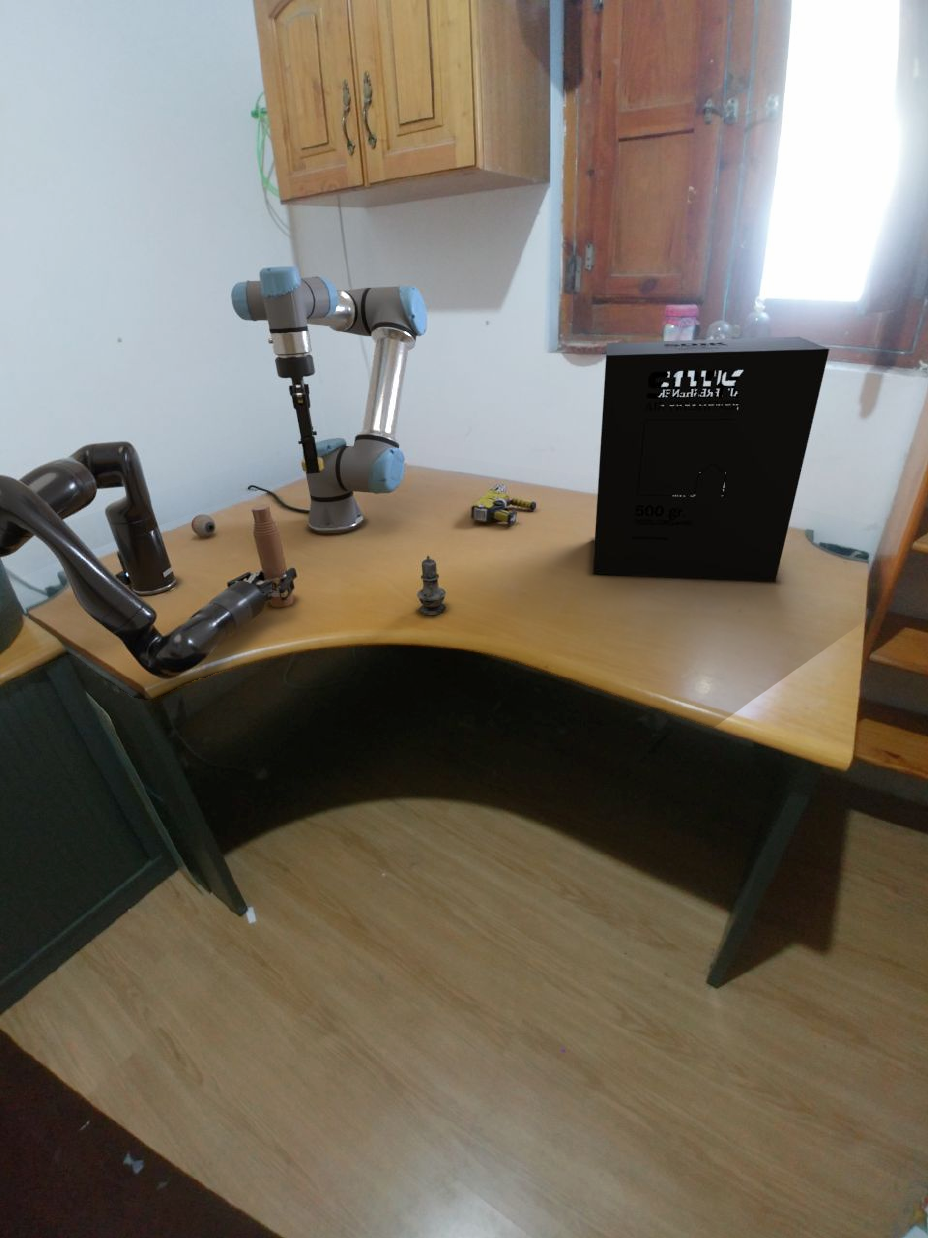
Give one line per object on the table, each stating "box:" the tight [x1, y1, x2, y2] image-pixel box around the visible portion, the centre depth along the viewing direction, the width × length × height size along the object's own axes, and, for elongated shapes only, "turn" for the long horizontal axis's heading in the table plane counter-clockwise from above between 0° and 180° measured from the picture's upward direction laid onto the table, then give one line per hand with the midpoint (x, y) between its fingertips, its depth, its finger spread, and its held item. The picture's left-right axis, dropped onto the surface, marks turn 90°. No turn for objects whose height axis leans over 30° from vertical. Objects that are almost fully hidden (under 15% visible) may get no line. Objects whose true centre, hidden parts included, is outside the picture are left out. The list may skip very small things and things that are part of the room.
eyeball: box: [191, 514, 216, 538], centre depth 166 cm, size 6×6×6 cm
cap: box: [300, 457, 324, 473], centre depth 132 cm, size 5×5×2 cm
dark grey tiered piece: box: [416, 555, 447, 616], centre depth 121 cm, size 6×6×12 cm
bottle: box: [251, 503, 295, 609], centre depth 125 cm, size 5×5×22 cm
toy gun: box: [470, 483, 537, 527], centre depth 170 cm, size 5×24×15 cm
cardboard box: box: [592, 336, 830, 583], centre depth 128 cm, size 38×20×45 cm, turn 78°
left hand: (282, 570), depth 130 cm, fingers closed on bottle, 5 cm apart
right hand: (313, 469), depth 133 cm, fingers closed on cap, 4 cm apart
